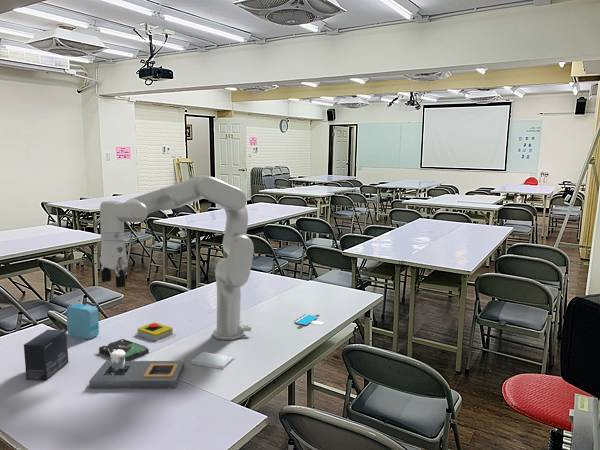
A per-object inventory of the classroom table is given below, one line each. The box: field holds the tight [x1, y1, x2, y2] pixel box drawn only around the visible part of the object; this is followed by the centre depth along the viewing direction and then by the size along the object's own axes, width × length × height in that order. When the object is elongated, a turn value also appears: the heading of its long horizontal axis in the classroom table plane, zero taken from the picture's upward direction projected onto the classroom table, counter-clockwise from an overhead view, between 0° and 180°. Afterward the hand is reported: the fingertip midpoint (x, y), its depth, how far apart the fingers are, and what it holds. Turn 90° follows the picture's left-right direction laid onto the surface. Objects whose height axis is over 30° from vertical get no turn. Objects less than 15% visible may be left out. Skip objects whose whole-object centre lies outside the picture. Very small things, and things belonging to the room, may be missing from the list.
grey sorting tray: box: [88, 360, 186, 390], centre depth 144 cm, size 26×14×3 cm, turn 94°
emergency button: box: [134, 321, 177, 343], centre depth 180 cm, size 9×4×15 cm
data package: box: [65, 303, 100, 340], centre depth 176 cm, size 12×4×12 cm, turn 69°
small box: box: [23, 329, 69, 381], centre depth 146 cm, size 13×7×12 cm, turn 178°
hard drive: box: [190, 351, 235, 370], centre depth 157 cm, size 2×8×12 cm
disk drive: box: [98, 338, 150, 361], centre depth 162 cm, size 10×3×15 cm
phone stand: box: [294, 313, 325, 329], centre depth 200 cm, size 20×12×2 cm, turn 152°
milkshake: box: [108, 349, 126, 375], centre depth 143 cm, size 5×5×10 cm
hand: (113, 284), depth 158 cm, fingers open, 9 cm apart
